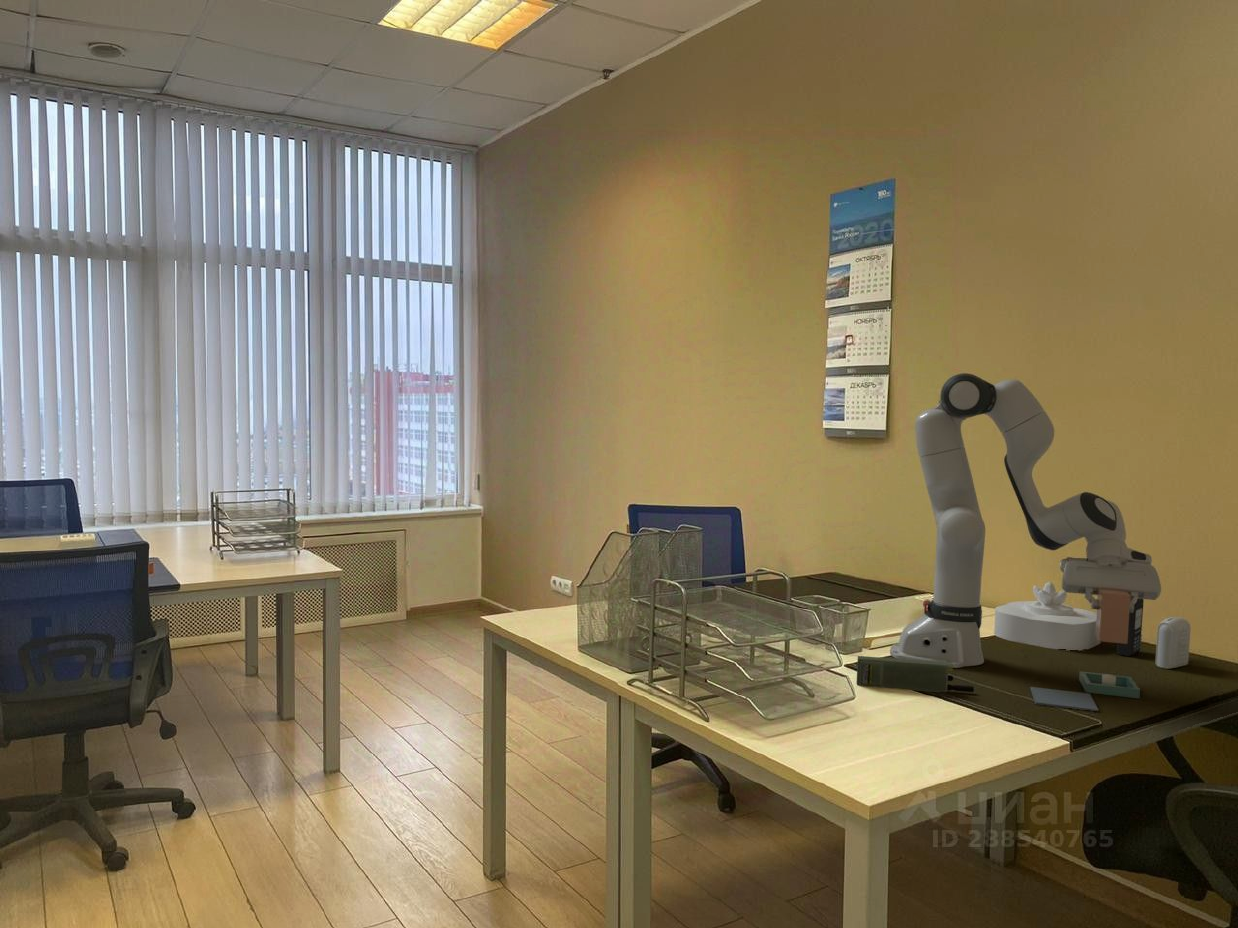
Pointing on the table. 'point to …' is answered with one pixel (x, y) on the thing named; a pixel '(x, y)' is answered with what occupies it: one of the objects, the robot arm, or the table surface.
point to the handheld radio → (906, 674)
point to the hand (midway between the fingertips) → (1112, 609)
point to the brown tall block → (1112, 616)
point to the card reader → (1133, 631)
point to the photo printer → (1173, 643)
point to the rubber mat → (1063, 699)
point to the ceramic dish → (1109, 684)
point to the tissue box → (1047, 622)
